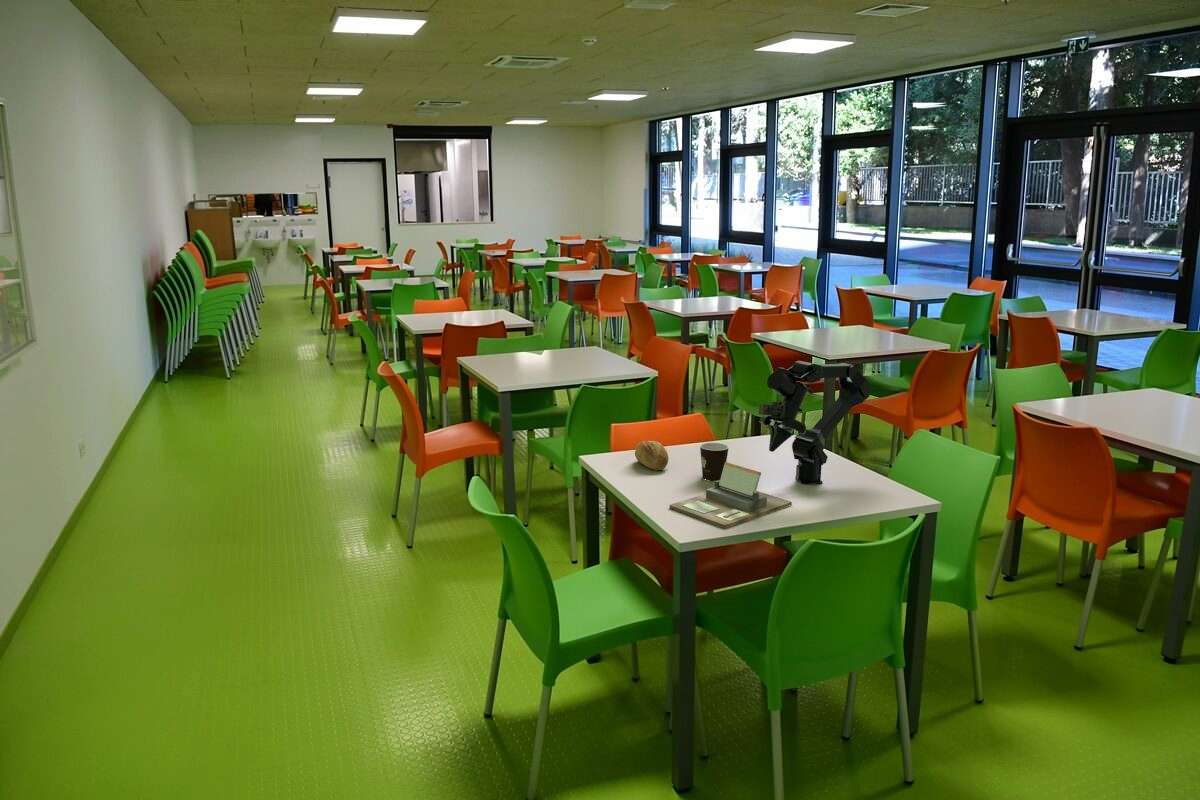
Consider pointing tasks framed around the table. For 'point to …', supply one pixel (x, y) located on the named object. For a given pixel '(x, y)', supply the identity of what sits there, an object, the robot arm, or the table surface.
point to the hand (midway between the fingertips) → (770, 451)
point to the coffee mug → (713, 460)
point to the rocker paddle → (739, 479)
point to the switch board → (729, 506)
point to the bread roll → (652, 455)
